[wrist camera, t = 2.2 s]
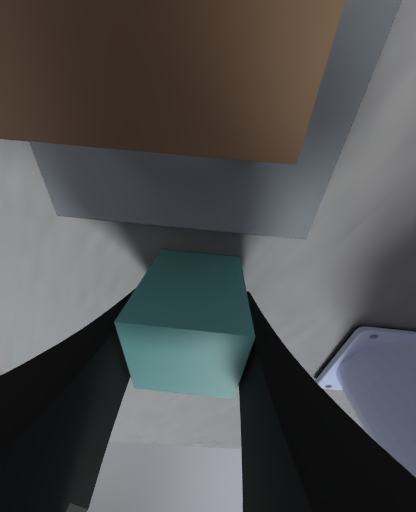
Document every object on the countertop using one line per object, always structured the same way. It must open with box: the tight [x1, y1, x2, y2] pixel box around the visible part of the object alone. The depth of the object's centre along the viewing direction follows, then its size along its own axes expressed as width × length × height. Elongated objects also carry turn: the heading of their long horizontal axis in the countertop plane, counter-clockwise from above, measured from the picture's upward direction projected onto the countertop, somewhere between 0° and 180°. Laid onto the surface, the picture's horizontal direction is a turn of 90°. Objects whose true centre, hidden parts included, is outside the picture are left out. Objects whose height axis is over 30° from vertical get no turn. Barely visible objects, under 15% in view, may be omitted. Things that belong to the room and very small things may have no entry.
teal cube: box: [114, 249, 255, 399], centre depth 9 cm, size 4×4×5 cm
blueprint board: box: [29, 0, 402, 240], centre depth 5 cm, size 12×12×1 cm
